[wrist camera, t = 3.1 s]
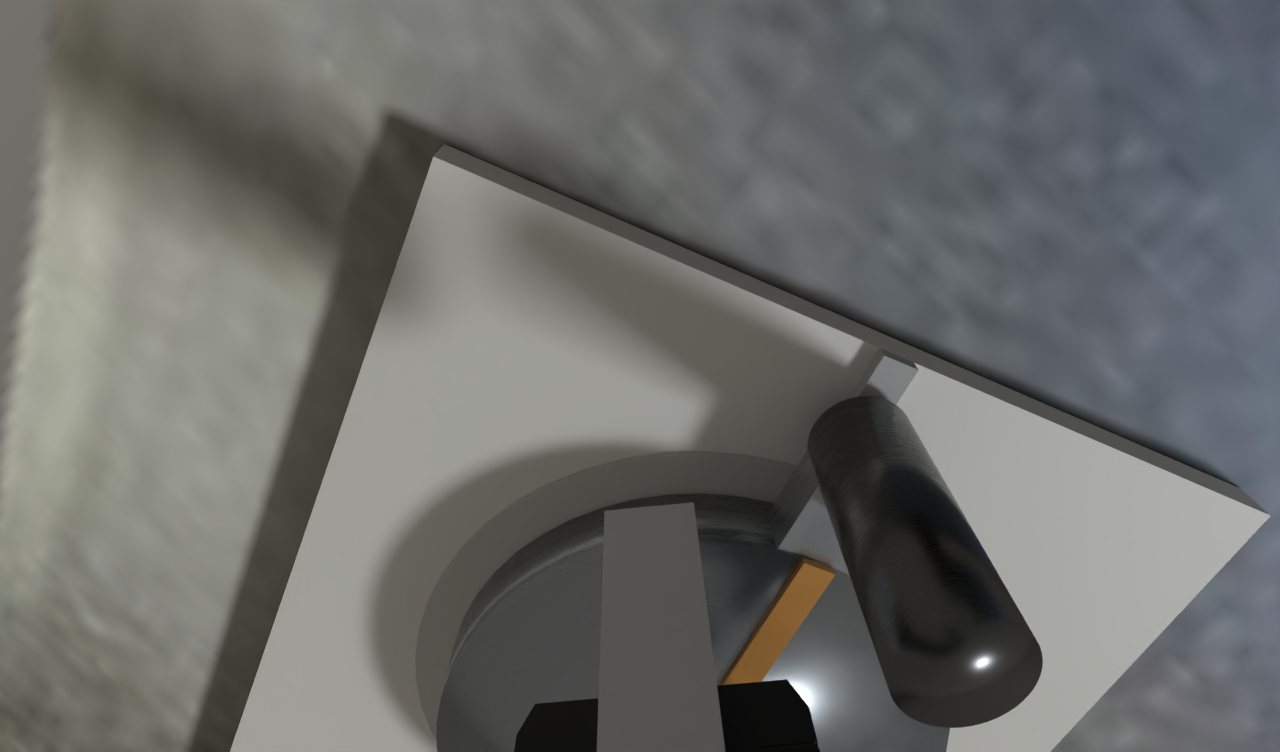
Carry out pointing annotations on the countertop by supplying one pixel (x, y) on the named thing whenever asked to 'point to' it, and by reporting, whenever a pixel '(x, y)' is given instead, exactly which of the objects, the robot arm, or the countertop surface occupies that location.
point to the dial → (779, 603)
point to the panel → (672, 461)
